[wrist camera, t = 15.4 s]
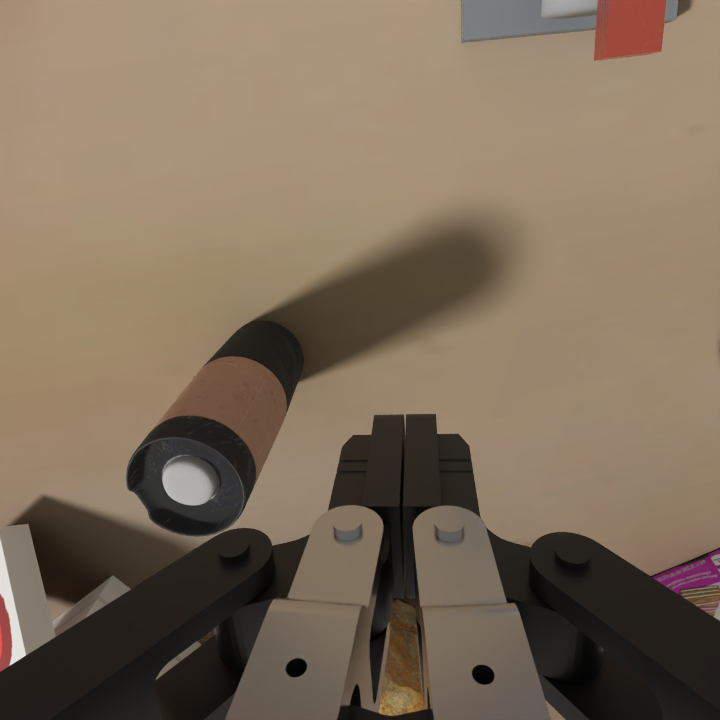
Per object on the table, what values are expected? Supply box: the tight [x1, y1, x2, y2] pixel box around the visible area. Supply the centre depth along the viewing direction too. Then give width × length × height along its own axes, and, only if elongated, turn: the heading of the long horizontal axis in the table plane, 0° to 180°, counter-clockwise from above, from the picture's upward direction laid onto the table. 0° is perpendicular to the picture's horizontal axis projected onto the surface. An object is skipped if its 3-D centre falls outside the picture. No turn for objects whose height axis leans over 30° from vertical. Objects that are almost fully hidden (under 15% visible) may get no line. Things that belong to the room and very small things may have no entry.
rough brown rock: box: [379, 599, 423, 716], centre depth 57 cm, size 23×17×15 cm
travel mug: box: [126, 321, 303, 537], centre depth 43 cm, size 8×8×20 cm
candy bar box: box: [652, 549, 720, 621], centre depth 51 cm, size 11×5×16 cm, turn 127°
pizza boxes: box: [0, 524, 201, 679], centre depth 60 cm, size 19×30×18 cm, turn 42°
